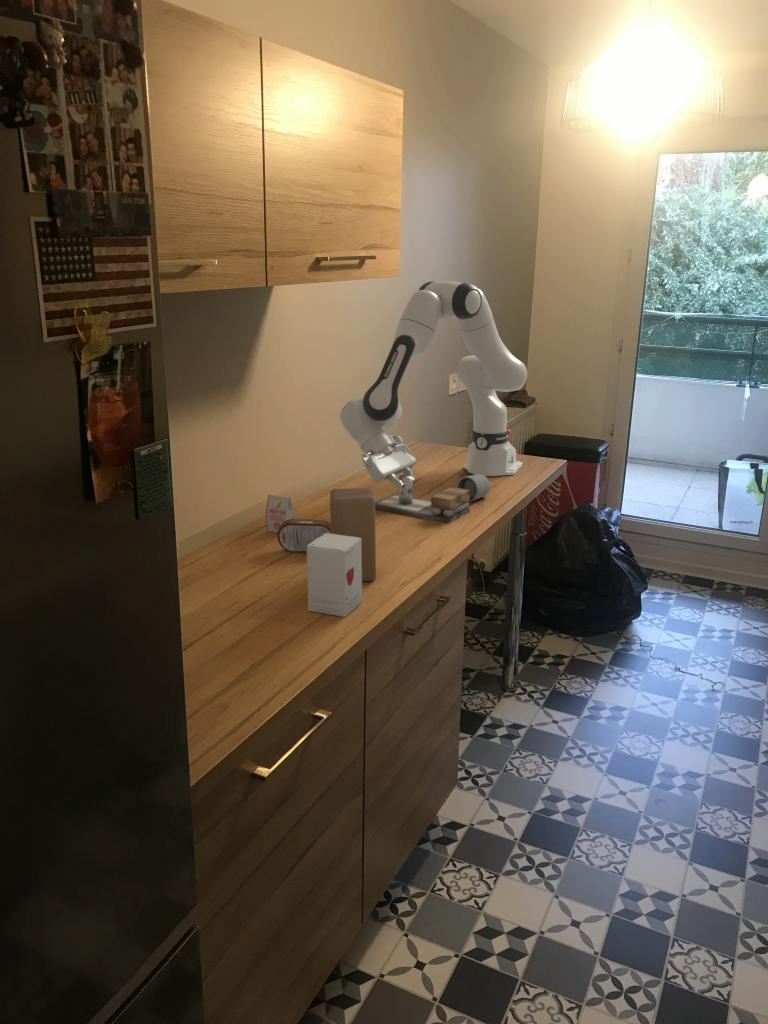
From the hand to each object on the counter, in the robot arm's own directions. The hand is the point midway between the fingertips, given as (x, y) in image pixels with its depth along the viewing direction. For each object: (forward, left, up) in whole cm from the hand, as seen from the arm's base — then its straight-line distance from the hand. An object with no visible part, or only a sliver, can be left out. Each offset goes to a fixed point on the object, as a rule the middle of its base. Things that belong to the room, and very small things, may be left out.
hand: (407, 484), depth 245 cm
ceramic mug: (-18, +11, -7) cm, 23 cm away
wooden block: (+52, +16, -7) cm, 55 cm away
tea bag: (+36, -19, -7) cm, 41 cm away
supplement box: (+69, +23, -7) cm, 73 cm away
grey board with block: (0, +4, -7) cm, 8 cm away
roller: (0, -1, -6) cm, 6 cm away
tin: (+45, -3, -7) cm, 46 cm away
